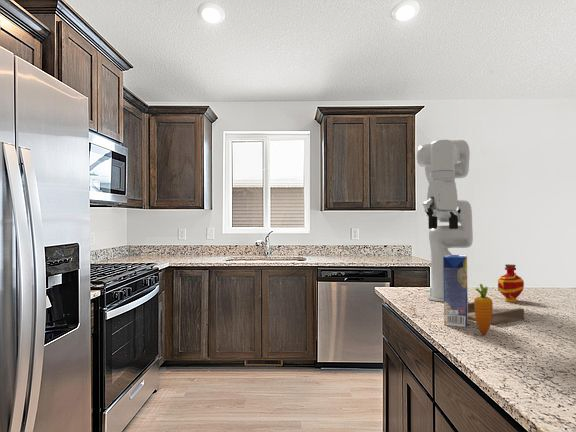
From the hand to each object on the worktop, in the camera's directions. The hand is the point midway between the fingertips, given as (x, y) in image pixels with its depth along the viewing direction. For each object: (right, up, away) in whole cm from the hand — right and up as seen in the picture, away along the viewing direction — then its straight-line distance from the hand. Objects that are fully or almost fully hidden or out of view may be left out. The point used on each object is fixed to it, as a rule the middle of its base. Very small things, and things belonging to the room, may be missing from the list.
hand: (443, 228), depth 146 cm
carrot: (+6, -31, -17) cm, 36 cm away
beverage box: (+4, -31, 0) cm, 32 cm away
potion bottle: (+42, -31, +38) cm, 65 cm away
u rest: (+18, -31, +7) cm, 36 cm away
